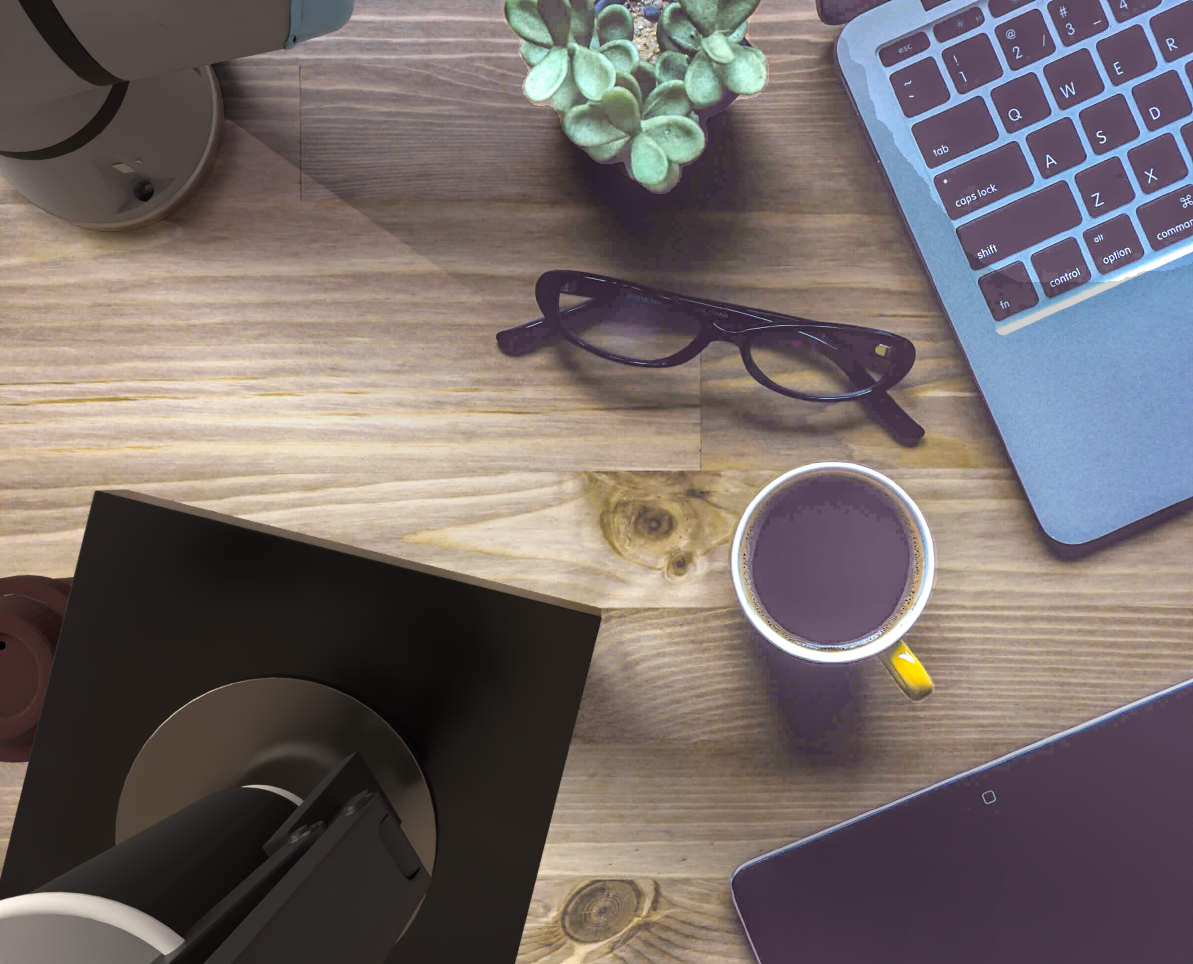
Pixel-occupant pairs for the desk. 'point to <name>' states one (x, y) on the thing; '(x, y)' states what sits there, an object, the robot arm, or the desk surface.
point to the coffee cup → (27, 655)
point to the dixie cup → (146, 884)
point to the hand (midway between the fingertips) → (255, 860)
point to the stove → (305, 704)
